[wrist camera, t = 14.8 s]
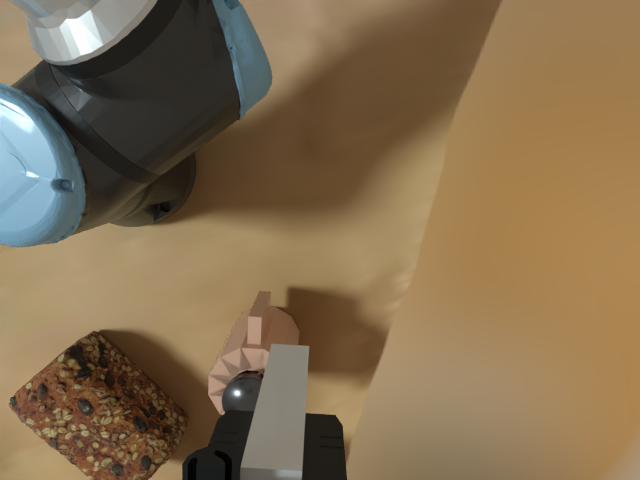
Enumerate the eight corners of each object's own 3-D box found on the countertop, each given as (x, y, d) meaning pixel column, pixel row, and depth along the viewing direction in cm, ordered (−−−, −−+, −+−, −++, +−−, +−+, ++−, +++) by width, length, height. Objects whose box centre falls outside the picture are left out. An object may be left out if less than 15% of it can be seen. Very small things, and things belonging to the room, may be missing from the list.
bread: (46, 368, 56) (-11, 413, 47) (100, 321, 55) (53, 358, 45) (143, 458, 59) (108, 518, 50) (196, 416, 58) (171, 469, 48)
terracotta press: (231, 366, 56) (207, 422, 44) (233, 281, 54) (209, 317, 42) (297, 370, 56) (291, 427, 45) (302, 286, 54) (297, 323, 42)
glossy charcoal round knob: (242, 364, 53) (221, 422, 41) (243, 328, 52) (222, 378, 40) (281, 366, 53) (270, 425, 42) (283, 330, 52) (272, 381, 40)
